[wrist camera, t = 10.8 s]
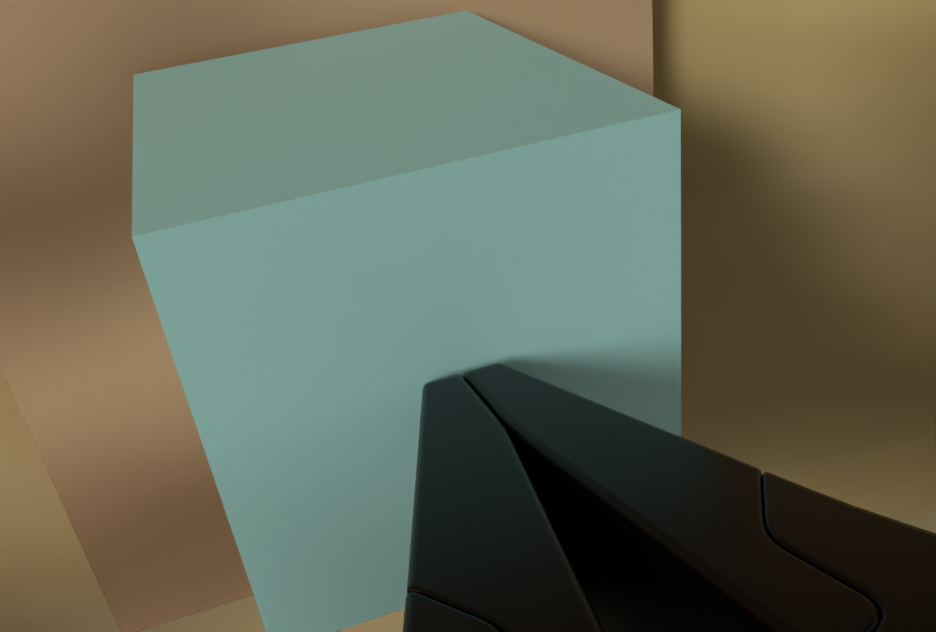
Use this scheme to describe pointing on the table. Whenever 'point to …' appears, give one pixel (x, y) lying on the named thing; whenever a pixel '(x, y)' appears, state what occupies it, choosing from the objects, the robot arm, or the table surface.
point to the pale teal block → (393, 271)
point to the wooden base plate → (120, 272)
